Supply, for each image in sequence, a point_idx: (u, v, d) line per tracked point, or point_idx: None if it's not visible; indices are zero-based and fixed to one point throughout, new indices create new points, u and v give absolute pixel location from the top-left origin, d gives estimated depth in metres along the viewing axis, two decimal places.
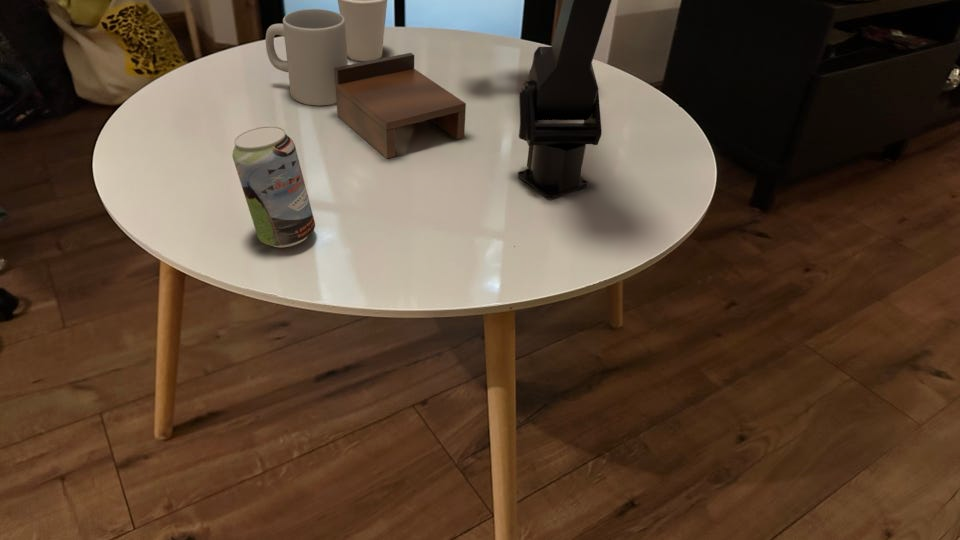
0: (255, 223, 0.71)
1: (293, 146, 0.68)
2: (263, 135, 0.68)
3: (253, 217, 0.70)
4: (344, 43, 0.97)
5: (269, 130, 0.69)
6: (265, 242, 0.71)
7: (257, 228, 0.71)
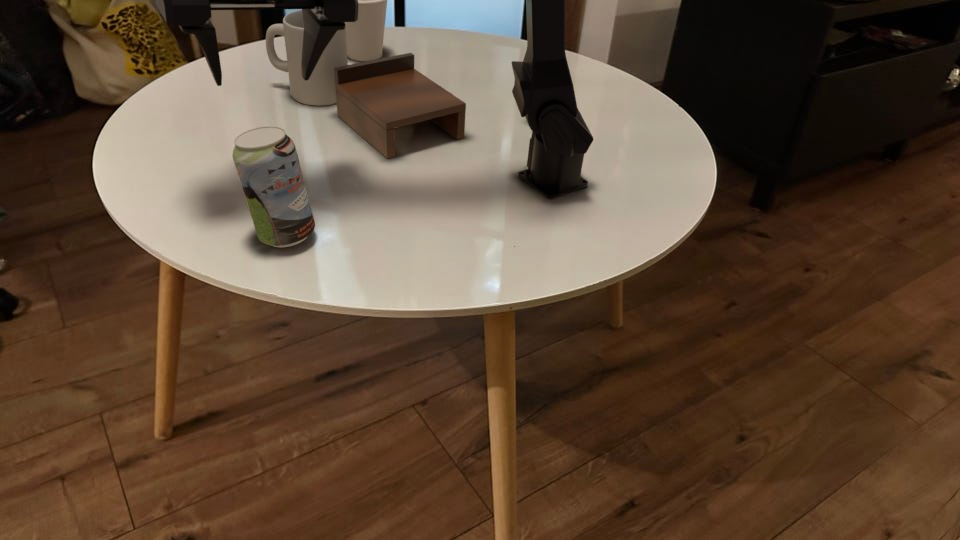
0: (255, 223, 0.71)
1: (293, 146, 0.68)
2: (263, 135, 0.68)
3: (253, 217, 0.70)
4: (344, 43, 0.97)
5: (269, 130, 0.69)
6: (265, 242, 0.71)
7: (257, 228, 0.71)
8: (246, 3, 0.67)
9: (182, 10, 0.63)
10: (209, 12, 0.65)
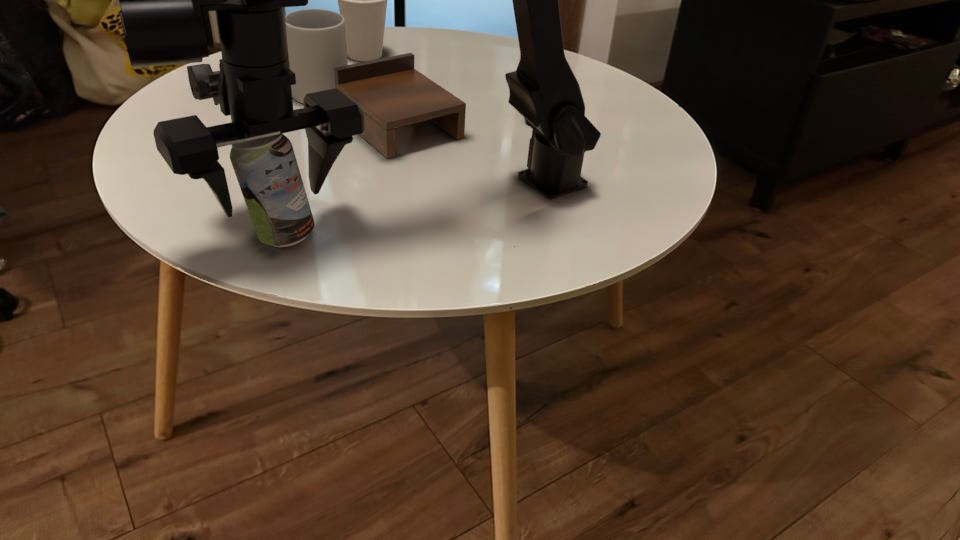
0: (254, 223, 0.71)
1: (290, 146, 0.68)
2: None
3: (252, 217, 0.70)
4: (344, 43, 0.97)
5: None
6: (265, 242, 0.71)
7: (256, 228, 0.71)
8: (251, 136, 0.64)
9: (189, 158, 0.60)
10: (216, 154, 0.62)
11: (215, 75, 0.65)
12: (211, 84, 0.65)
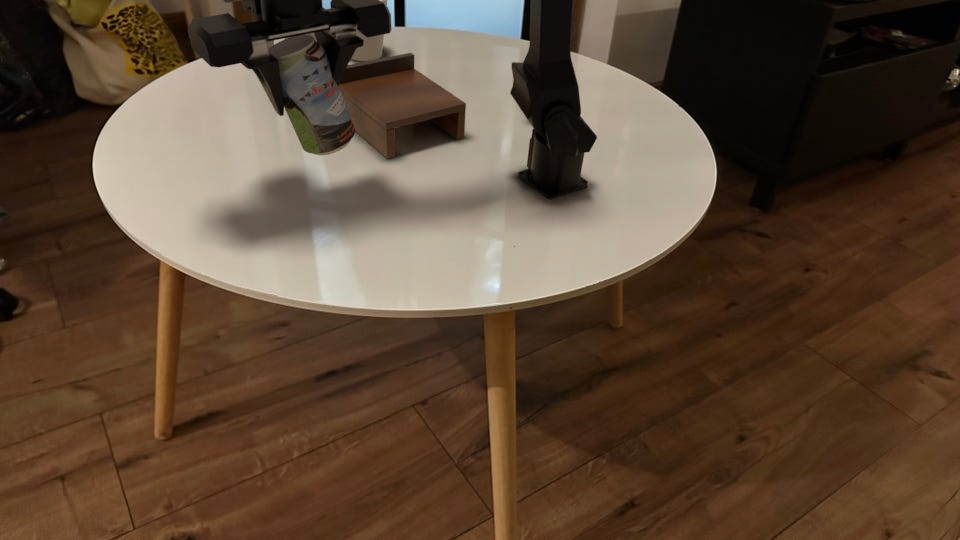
0: (298, 134, 0.73)
1: (323, 51, 0.70)
2: (293, 44, 0.69)
3: (295, 128, 0.73)
4: None
5: (298, 38, 0.70)
6: (310, 151, 0.74)
7: (301, 138, 0.73)
8: (302, 28, 0.66)
9: (225, 50, 0.61)
10: (251, 48, 0.63)
11: None
12: None
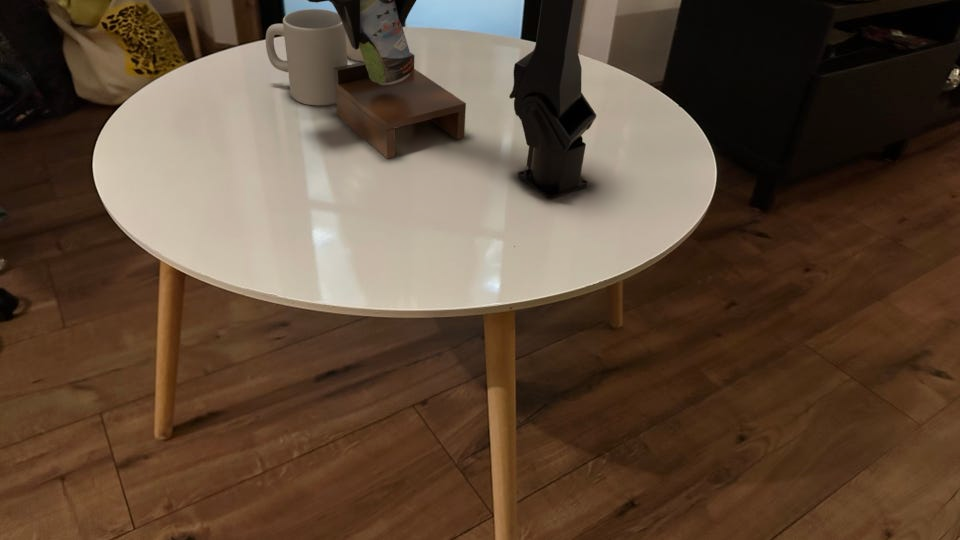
0: (368, 65, 0.89)
1: None
2: None
3: (367, 60, 0.89)
4: (344, 43, 0.97)
5: None
6: (377, 81, 0.90)
7: (370, 70, 0.89)
8: None
9: None
10: None
11: None
12: None
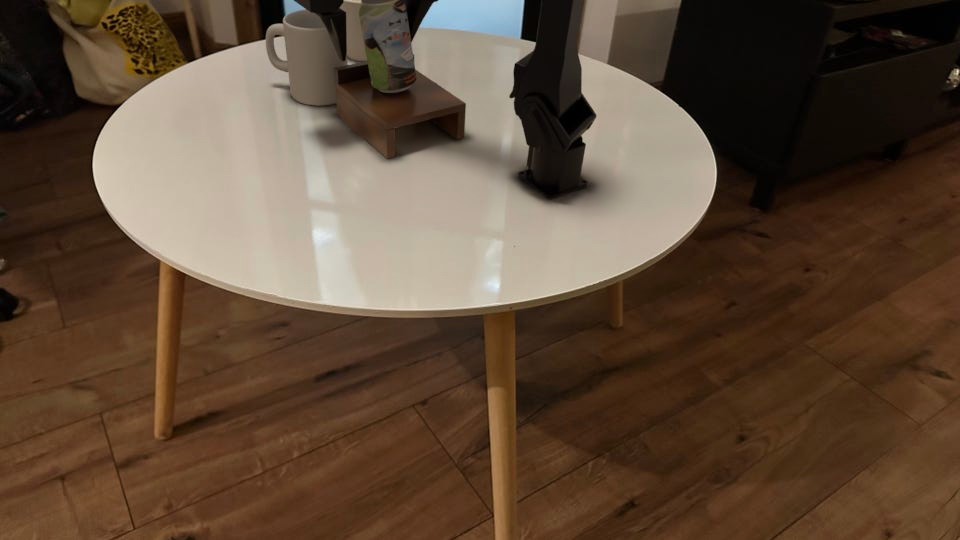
0: (373, 71, 0.90)
1: (405, 7, 0.87)
2: None
3: (372, 66, 0.90)
4: None
5: None
6: (380, 87, 0.91)
7: (374, 76, 0.90)
8: None
9: None
10: None
11: None
12: None
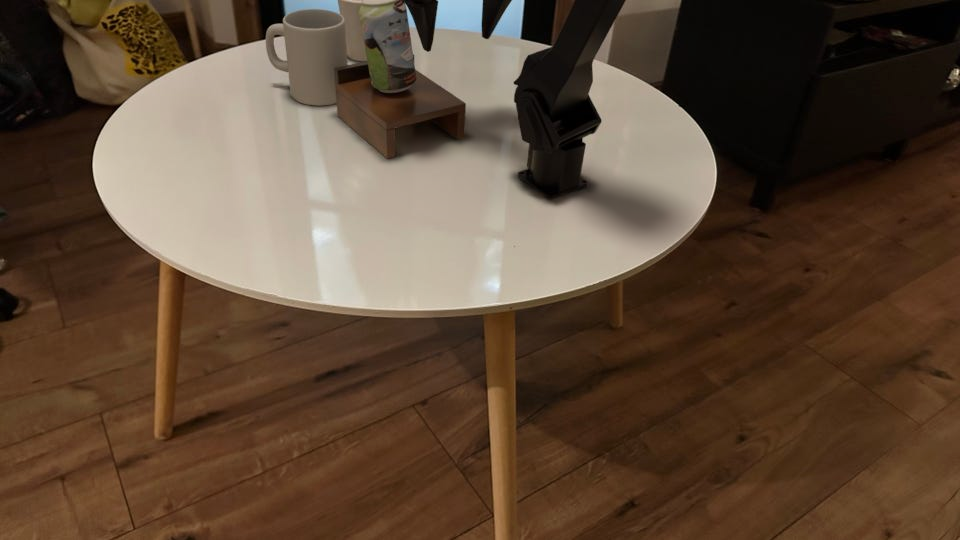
0: (373, 71, 0.90)
1: (405, 7, 0.87)
2: None
3: (372, 66, 0.90)
4: (344, 43, 0.97)
5: None
6: (380, 87, 0.91)
7: (374, 76, 0.90)
8: None
9: None
10: None
11: None
12: None
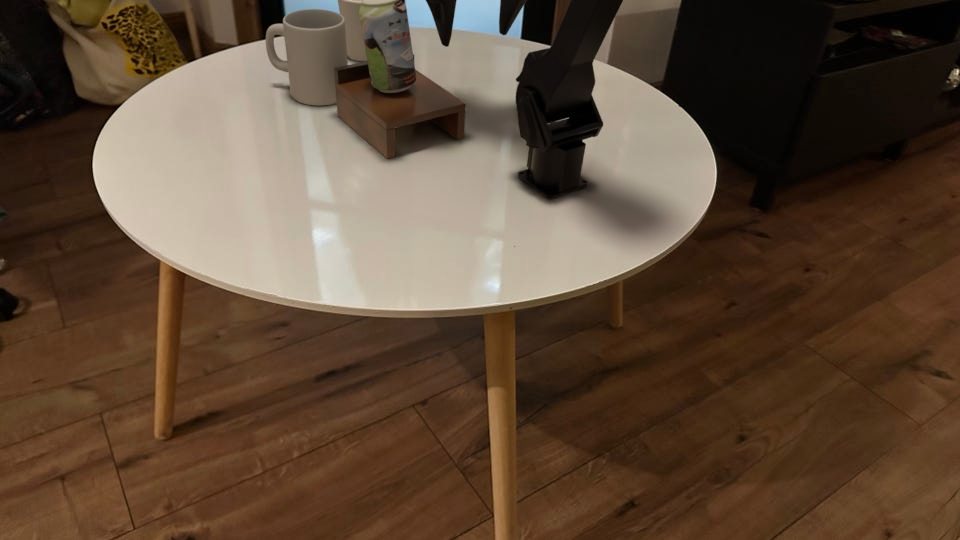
0: (373, 71, 0.90)
1: (405, 7, 0.87)
2: None
3: (372, 66, 0.90)
4: (344, 43, 0.97)
5: None
6: (380, 87, 0.91)
7: (374, 76, 0.90)
8: None
9: None
10: None
11: None
12: None
